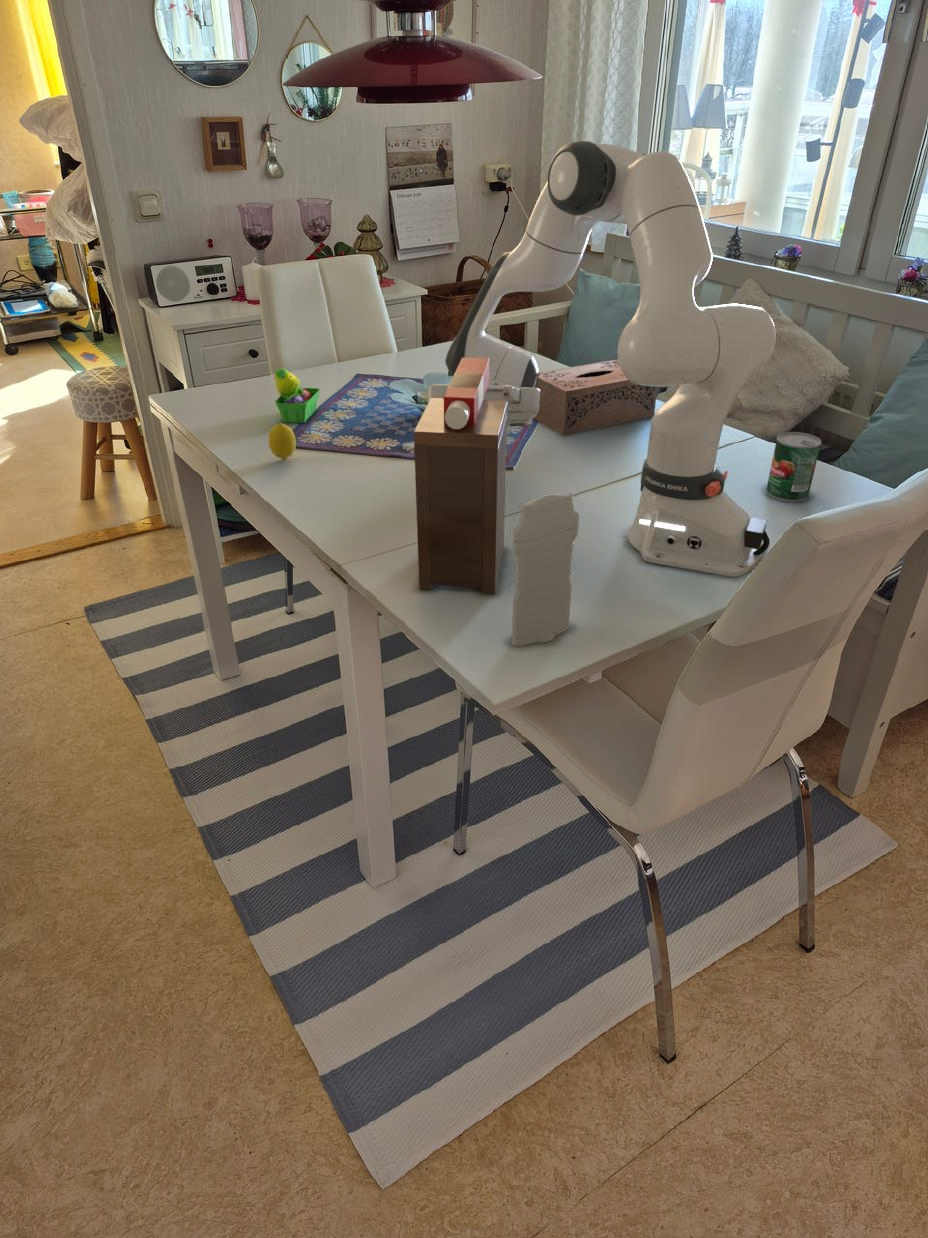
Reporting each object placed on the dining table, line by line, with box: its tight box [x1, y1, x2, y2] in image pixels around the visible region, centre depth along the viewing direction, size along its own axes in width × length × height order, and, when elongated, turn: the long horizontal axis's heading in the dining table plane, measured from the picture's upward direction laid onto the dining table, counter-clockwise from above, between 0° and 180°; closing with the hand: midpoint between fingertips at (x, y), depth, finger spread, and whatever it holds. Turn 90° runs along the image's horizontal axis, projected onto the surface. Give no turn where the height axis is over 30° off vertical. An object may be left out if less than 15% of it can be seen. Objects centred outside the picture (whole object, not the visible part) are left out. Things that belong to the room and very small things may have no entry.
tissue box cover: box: [532, 358, 658, 436], centre depth 200 cm, size 26×14×10 cm, turn 118°
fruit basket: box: [274, 367, 321, 424], centre depth 200 cm, size 11×9×11 cm
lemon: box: [268, 422, 297, 461], centre depth 178 cm, size 6×6×8 cm
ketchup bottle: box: [444, 358, 489, 429], centre depth 129 cm, size 23×4×4 cm, turn 173°
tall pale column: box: [511, 492, 580, 647], centre depth 118 cm, size 11×4×22 cm, turn 120°
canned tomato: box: [765, 431, 822, 503], centre depth 163 cm, size 8×8×11 cm
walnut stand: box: [413, 398, 508, 595], centre depth 134 cm, size 15×12×26 cm
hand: (480, 389), depth 147 cm, fingers open, 8 cm apart
